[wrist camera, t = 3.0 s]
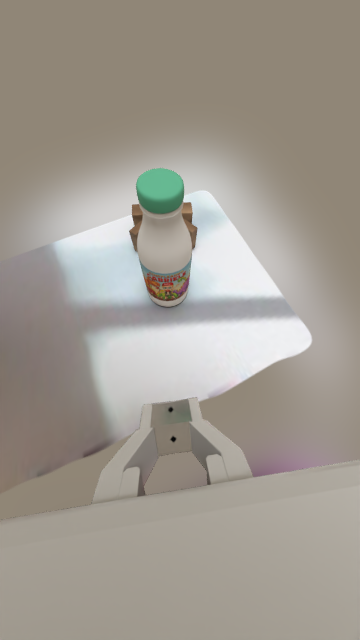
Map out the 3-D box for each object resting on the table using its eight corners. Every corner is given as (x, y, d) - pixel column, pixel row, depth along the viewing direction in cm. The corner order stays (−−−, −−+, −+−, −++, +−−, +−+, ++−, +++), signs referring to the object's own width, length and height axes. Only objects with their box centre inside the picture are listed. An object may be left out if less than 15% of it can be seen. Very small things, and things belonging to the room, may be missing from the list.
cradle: (195, 250, 39) (198, 231, 35) (134, 253, 39) (129, 235, 34) (191, 223, 42) (193, 202, 38) (134, 225, 42) (129, 204, 37)
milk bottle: (143, 279, 36) (110, 164, 18) (179, 269, 38) (184, 150, 19) (155, 313, 34) (129, 219, 15) (193, 301, 35) (213, 199, 16)
